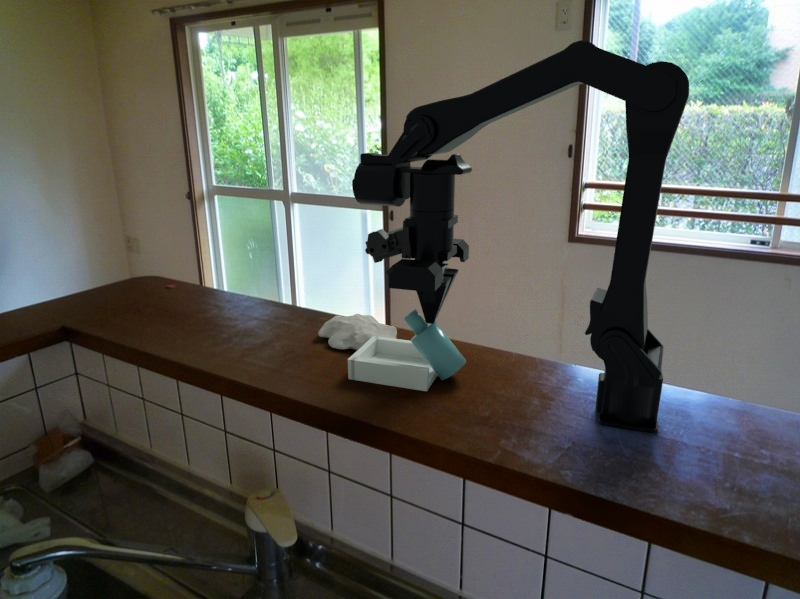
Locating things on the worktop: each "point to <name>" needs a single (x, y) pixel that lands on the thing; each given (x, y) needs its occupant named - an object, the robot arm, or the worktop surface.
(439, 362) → the bottle
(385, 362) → the u rest
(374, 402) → the worktop surface
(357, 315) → the decorative stone
